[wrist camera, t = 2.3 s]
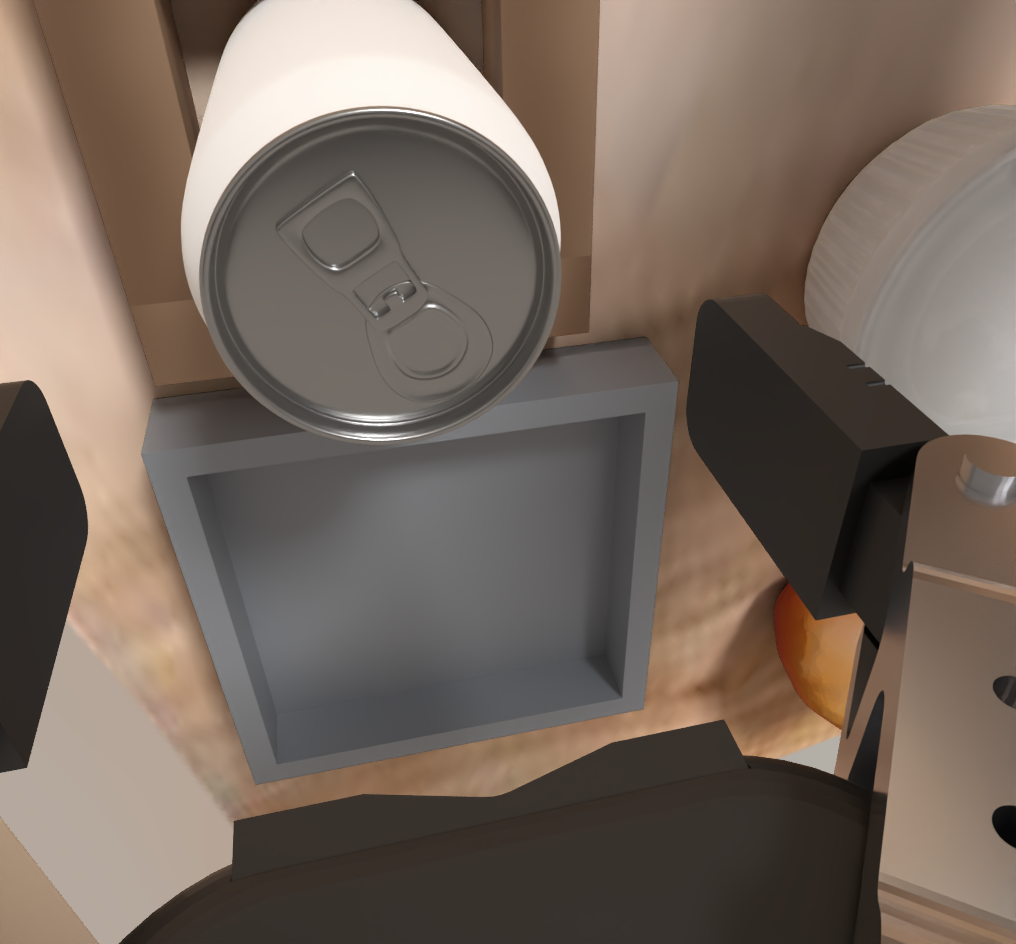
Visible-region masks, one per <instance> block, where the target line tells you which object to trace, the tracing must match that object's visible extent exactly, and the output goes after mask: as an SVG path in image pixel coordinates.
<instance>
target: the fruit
mask: <svg viewBox="0 0 1016 944" xmlns="http://www.w3.org/2000/svg"><path fill="white" fill-rule="evenodd" d="M863 624H864V623H863V621H862V620H861V619H860V617H859V616H858V615H857V613H853V614H848V615H843V616H837V617H832V618H827V619H822V620H815V619H814V618H813V616H812V615H811V613H810V612H809V610H808V609H807V608H806V606H805V605H804V603H803V602H802V601H801V599H800V598H799V596H798V595H797V593H796V592H795V591H794V589H793V588H792V586H791V585H790V584H789V583H788V584H787V585H786V587H785V588H784V589H783V591H782V592H781V593H780V595H779V597H778V599H777V601H776V603H775V606H774V631H775V639H776V645H777V650H778V654H779V657H780V659H781V662H782V664H783V666H784V668H785V670H786V672H787V674H788V676H789V678H790V680H791V682H792V684H793V686H794V689H795V691H796V692H797V694H798V695H799V696H800V698H801V699H802V700H803V701H804V703H805V704H806V705H807V706H808V707H809V708H811V709H812V710H813V711H814V712H816V713H817V714H818V715H820V716H821V717H823V718H824V719H826V720H827V721H829V722H830V723H831V724H833V725H835V726H836V727H838V728H839V729H841V730H842V726H843V721H844V715H845V709H846V703H847V698H848V692H849V686H850V680H851V675H852V669H853V663H854V657H855V652H856V646H857V643H858V639H859V636H860V633H861V630H862V627H863Z"/></svg>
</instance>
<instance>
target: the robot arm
mask: <svg viewBox="0 0 1016 944" xmlns="http://www.w3.org/2000/svg"><path fill="white" fill-rule="evenodd" d="M686 415H687V425H688V431H689V435H690V438H691V441H692V444H693V446H694V448H695V450H696V452H697V453H698V455H699V456H700V457H701V459H702V460H703V462H704V463H705V465H706V466H707V467H708V469H709V470H710V472H711V473H712V474H713V476H714V477H715V479H716V480H717V482H718V483H719V484H720V486H721V487H722V489H723V490H724V491H725V493H726V494H727V496H728V497H729V499H730V500H731V501H732V503H733V504H734V506H735V507H736V508H737V510H738V511H739V513H740V514H741V516H742V517H743V518H744V520H745V521H746V523H747V524H748V525H749V527H750V528H751V530H752V531H753V533H754V534H755V535H756V537H757V538H758V540H759V541H760V542H761V544H762V545H763V547H764V548H765V550H766V551H767V552H768V554H769V555H770V557H771V558H772V559H773V561H774V562H775V564H776V565H777V567H778V568H779V569H780V571H781V572H782V574H783V575H784V576H785V578H786V579H787V581H788V582H789V584H790V585H791V586H792V588H793V589H794V591H795V592H796V593H797V595H798V596H799V598H800V599H801V601H802V602H803V603H804V605H805V606H806V608H807V609H808V610H809V612H810V613H811V615H812V616H813V618H814V619H815V620H822V619H827V618H832V617H837V616H843V615H848V614H853V613H857V615H858V616H859V617H860V619H861V620H862V621H863V623H864V624H863V627H862V630H861V633H860V636H859V639H858V643H857V646H856V652H855V657H854V663H853V669H852V675H851V680H850V686H849V692H848V698H847V703H846V709H845V715H844V721H843V726H842V732H841V738H840V744H839V750H838V755H837V761H836V766H835V770H834V775H833V774H830V773H827V772H824V771H821V770H819V769H816V768H813V767H809V766H805V765H801V764H797V763H793V762H788V761H785V760H779V759H772V758H765V757H758V756H743V755H742V753H741V751H740V749H739V748H738V746H737V744H736V742H735V740H734V738H733V736H732V734H731V732H730V730H729V728H728V726H727V725H726V723H725V721H724V720H719V721H715V722H710V723H705V724H700V725H695V726H690V727H686V728H681V729H676V730H671V731H666V732H661V733H657V734H652V735H647V736H642V737H637V738H632V739H628V740H623V741H618V742H613V743H610V744H608V745H606V746H604V747H602V748H600V749H598V750H596V751H594V752H592V753H590V754H588V755H585V756H583V757H581V758H579V759H577V760H575V761H573V762H571V763H569V764H567V765H565V766H563V767H560V768H558V769H556V770H554V771H552V772H550V773H548V774H546V775H544V776H542V777H540V778H538V779H535V780H533V781H531V782H529V783H527V784H525V785H523V786H521V787H519V788H517V789H515V790H513V791H511V792H508V793H505V794H503V795H499V796H494V797H453V796H412V795H372V794H362V795H357V796H353V797H348V798H343V799H338V800H333V801H328V802H324V803H319V804H314V805H309V806H304V807H299V808H295V809H290V810H285V811H280V812H275V813H270V814H266V815H261V816H256V817H251V818H246V819H241V820H237V821H234V834H233V860H232V864H231V865H229V866H227V867H225V868H222V869H220V870H218V871H216V872H214V873H212V874H210V875H209V876H207V877H205V878H204V879H202V880H200V881H199V882H197V883H195V884H194V885H192V886H190V887H189V888H187V889H185V890H184V891H182V892H181V893H179V894H178V895H176V896H175V897H174V898H172V899H171V900H170V901H168V902H167V903H166V904H164V905H163V906H162V907H161V908H159V909H157V910H156V911H155V912H153V913H152V914H151V915H150V916H149V917H148V918H146V919H145V920H144V921H143V922H142V923H141V924H140V925H139V926H137V927H136V928H135V929H134V930H133V931H132V932H131V933H130V934H128V935H127V936H126V937H125V938H124V939H123V940H122V941H121V942H120V943H119V944H1016V443H1012V442H1009V441H1006V440H1002V439H998V438H994V437H988V436H982V435H970V434H961V435H948V434H947V433H946V432H945V431H944V430H942V429H941V428H940V427H939V426H938V425H937V424H936V423H934V422H933V421H932V420H931V419H930V418H929V417H927V416H926V415H925V414H924V413H923V412H922V411H921V410H919V409H918V408H917V407H916V406H915V405H914V404H912V403H911V402H910V401H909V400H908V399H907V398H906V397H904V396H903V395H902V394H901V393H900V392H899V391H897V390H896V389H895V388H894V387H893V386H892V385H890V384H889V385H886V384H885V379H884V378H882V377H881V376H880V375H879V374H878V373H877V372H875V371H874V370H873V369H872V368H871V367H865V362H864V361H863V360H862V359H860V358H859V357H858V356H857V355H856V354H855V353H853V352H852V351H851V350H850V349H849V348H848V347H847V346H845V345H844V344H843V343H842V342H841V341H838V340H836V339H834V338H832V337H830V336H827V335H825V334H823V333H821V332H819V331H816V330H814V329H812V328H810V327H808V326H806V325H804V326H801V325H800V324H799V323H798V322H797V321H796V320H795V319H794V318H793V317H791V316H790V315H789V314H788V313H787V312H786V311H785V310H784V309H783V308H781V307H780V306H779V305H778V304H777V303H776V302H775V301H774V300H772V299H771V298H770V297H769V296H768V295H766V294H763V293H760V294H751V295H743V296H735V297H726V298H718V299H710V300H707V301H705V302H704V303H703V304H702V306H701V308H700V310H699V313H698V316H697V322H696V331H695V339H694V347H693V356H692V364H691V372H690V381H689V389H688V397H687V407H686ZM87 535H88V519H87V510H86V505H85V500H84V496H83V493H82V490H81V487H80V485H79V482H78V480H77V477H76V474H75V472H74V469H73V467H72V464H71V462H70V459H69V457H68V454H67V452H66V449H65V447H64V444H63V442H62V439H61V437H60V434H59V432H58V429H57V427H56V424H55V422H54V419H53V417H52V414H51V412H50V409H49V407H48V404H47V402H46V399H45V397H44V395H43V393H42V392H41V390H40V389H39V387H38V386H37V385H36V384H35V383H34V382H32V381H30V380H27V381H18V382H10V383H2V384H0V773H1V772H7V771H12V770H18V769H22V768H27V765H28V762H29V758H30V754H31V750H32V746H33V743H34V739H35V735H36V731H37V727H38V723H39V719H40V716H41V712H42V708H43V705H44V701H45V697H46V693H47V690H48V686H49V682H50V678H51V675H52V671H53V667H54V663H55V659H56V656H57V652H58V648H59V644H60V641H61V637H62V633H63V629H64V626H65V622H66V618H67V614H68V610H69V607H70V603H71V599H72V595H73V591H74V588H75V584H76V580H77V576H78V573H79V569H80V565H81V561H82V557H83V554H84V550H85V546H86V542H87ZM0 944H99V943H98V942H97V940H96V939H95V938H94V937H93V935H92V934H91V933H90V931H89V930H88V929H87V928H86V926H85V925H84V924H83V922H82V921H81V920H80V919H79V917H78V916H77V915H76V913H75V912H74V911H73V910H72V908H71V907H70V906H69V904H68V903H67V902H66V901H65V899H64V898H63V897H62V895H61V894H60V893H59V892H58V891H57V889H56V888H55V886H54V885H53V884H52V883H51V881H50V880H49V879H48V877H47V876H46V875H45V874H44V872H43V871H42V870H41V868H40V867H39V866H38V865H37V863H36V862H35V861H34V859H33V858H32V857H31V856H30V854H29V853H28V852H27V850H26V849H25V848H24V847H23V845H22V844H21V843H20V841H19V840H18V839H17V837H16V836H15V835H14V834H13V832H12V831H11V830H10V828H9V827H8V826H7V825H6V823H5V822H4V821H3V819H1V817H0Z"/></svg>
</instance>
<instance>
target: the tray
mask: <svg viewBox="0 0 1016 944" xmlns="http://www.w3.org/2000/svg"><path fill="white" fill-rule="evenodd" d="M678 384H679V381H678V379H677V378H676V376H675V375H674V374H673V372H672V371H671V370H670V368H669V367H668V366H667V364H666V363H665V361H664V360H663V359H662V357H661V356H660V355H659V353H658V352H657V351H656V349H655V348H654V346H653V345H652V344H651V342H650V341H649V340H648V338H647V337H641V338H633V339H625V340H617V341H609V342H602V343H594V344H586V345H578V346H570V347H562V348H554V349H546V350H542V352H541V354H540V356H539V357H538V359H537V361H536V362H535V364H534V365H533V367H532V368H531V369H530V371H529V372H528V374H527V375H526V376H525V377H524V379H523V380H522V381H521V382H520V383H519V384H518V385H517V387H516V388H515V389H514V390H513V391H512V392H511V393H510V394H509V395H507V396H506V397H505V398H504V399H503V400H502V401H501V402H499V403H498V404H497V405H496V406H494V407H493V408H492V409H490V410H489V411H488V412H486V413H485V414H483V415H481V416H480V417H478V418H477V419H475V420H473V421H471V422H469V423H468V424H466V425H464V426H462V427H459V428H457V429H455V430H452V431H450V432H447V433H445V434H442V435H439V436H436V437H432V438H429V439H425V440H420V441H415V442H410V443H403V444H391V445H367V444H356V443H349V442H343V441H338V440H334V439H330V438H326V437H323V436H320V435H317V434H314V433H311V432H309V431H306V430H304V429H301V428H299V427H297V426H295V425H293V424H291V423H289V422H287V421H286V420H284V419H282V418H281V417H279V416H277V415H276V414H274V413H273V412H271V411H270V410H269V409H267V408H266V407H265V406H263V405H262V404H261V403H260V402H258V401H257V400H256V399H255V398H254V397H253V396H252V395H251V394H250V393H248V392H247V390H246V389H245V388H238V389H230V390H223V391H215V392H207V393H199V394H191V395H183V396H175V397H167V398H159V399H154V400H153V404H152V408H151V413H150V417H149V421H148V426H147V430H146V434H145V439H144V443H143V447H142V452H141V455H142V458H143V461H144V464H145V467H146V470H147V473H148V476H149V478H150V481H151V484H152V487H153V490H154V493H155V496H156V499H157V501H158V504H159V507H160V510H161V513H162V516H163V519H164V522H165V525H166V527H167V530H168V533H169V536H170V539H171V542H172V545H173V548H174V551H175V553H176V556H177V559H178V562H179V565H180V568H181V571H182V574H183V577H184V579H185V582H186V585H187V588H188V591H189V594H190V597H191V600H192V602H193V605H194V608H195V611H196V614H197V617H198V620H199V623H200V626H201V628H202V631H203V634H204V637H205V640H206V643H207V646H208V649H209V652H210V654H211V657H212V660H213V663H214V666H215V669H216V672H217V675H218V677H219V680H220V683H221V686H222V689H223V692H224V695H225V698H226V701H227V703H228V706H229V709H230V712H231V715H232V718H233V721H234V724H235V727H236V729H237V732H238V735H239V738H240V741H241V744H242V747H243V750H244V753H245V755H246V758H247V761H248V764H249V767H250V770H251V773H252V776H253V778H254V781H255V784H256V785H257V784H263V783H268V782H273V781H278V780H283V779H288V778H293V777H298V776H304V775H309V774H314V773H319V772H324V771H329V770H334V769H339V768H345V767H350V766H355V765H360V764H365V763H370V762H375V761H380V760H386V759H391V758H396V757H401V756H406V755H411V754H416V753H422V752H427V751H432V750H437V749H442V748H447V747H452V746H457V745H463V744H468V743H473V742H478V741H483V740H488V739H493V738H498V737H504V736H509V735H514V734H519V733H524V732H529V731H534V730H539V729H545V728H550V727H555V726H560V725H565V724H570V723H575V722H580V721H586V720H591V719H596V718H601V717H606V716H611V715H616V714H621V713H627V712H632V711H637V710H642V709H644V701H645V692H646V683H647V673H648V664H649V655H650V645H651V636H652V627H653V617H654V608H655V599H656V589H657V580H658V570H659V561H660V552H661V542H662V533H663V524H664V514H665V505H666V496H667V486H668V477H669V468H670V458H671V449H672V440H673V430H674V421H675V412H676V402H677V393H678Z"/></svg>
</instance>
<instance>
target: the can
mask: <svg viewBox="0 0 1016 944" xmlns="http://www.w3.org/2000/svg"><path fill="white" fill-rule="evenodd" d="M181 243H182V255H183V262H184V268H185V273H186V277H187V281H188V285H189V288H190V291H191V294H192V296H193V299H194V302H195V304H196V306H197V308H198V311H199V313H200V315H201V317H202V318H203V320H204V322H205V324H206V325H207V327H208V330H209V333H210V336H211V338H212V340H213V343H214V345H215V347H216V349H217V351H218V353H219V354H220V356H221V358H222V360H223V361H224V363H225V364H226V366H227V367H228V369H229V370H230V372H231V373H232V374H233V376H234V377H235V378H236V379H237V381H238V382H239V383H240V384H241V385H242V386H243V387H244V388H245V389H246V390H247V392H248V393H250V394H251V395H252V396H253V397H254V398H255V399H256V400H257V401H258V402H260V403H261V404H262V405H263V406H265V407H266V408H267V409H269V410H270V411H271V412H273V413H274V414H276V415H277V416H279V417H281V418H282V419H284V420H286V421H287V422H289V423H291V424H293V425H295V426H297V427H299V428H301V429H304V430H306V431H309V432H311V433H314V434H317V435H320V436H323V437H326V438H330V439H334V440H338V441H343V442H349V443H356V444H367V445H391V444H403V443H410V442H415V441H420V440H425V439H429V438H432V437H436V436H439V435H442V434H445V433H447V432H450V431H452V430H455V429H457V428H459V427H462V426H464V425H466V424H468V423H469V422H471V421H473V420H475V419H477V418H478V417H480V416H481V415H483V414H485V413H486V412H488V411H489V410H490V409H492V408H493V407H494V406H496V405H497V404H498V403H499V402H501V401H502V400H503V399H504V398H505V397H506V396H507V395H509V394H510V393H511V392H512V391H513V390H514V389H515V388H516V387H517V385H518V384H519V383H520V382H521V381H522V380H523V379H524V377H525V376H526V375H527V374H528V372H529V371H530V369H531V368H532V367H533V365H534V364H535V362H536V361H537V359H538V357H539V356H540V354H541V352H542V350H543V348H544V346H545V344H546V342H547V340H548V338H549V335H550V333H551V330H552V328H553V325H554V321H555V318H556V314H557V310H558V306H559V300H560V293H561V280H562V270H561V256H560V246H561V231H560V218H559V211H558V205H557V200H556V196H555V192H554V189H553V185H552V182H551V180H550V177H549V174H548V172H547V169H546V167H545V164H544V162H543V160H542V158H541V156H540V154H539V152H538V150H537V148H536V146H535V144H534V143H533V141H532V139H531V138H530V136H529V135H528V133H527V132H526V130H525V129H524V127H523V126H522V125H521V123H520V122H519V120H518V119H517V118H516V116H515V115H514V114H513V112H512V111H511V110H510V109H509V107H508V106H507V105H506V104H505V102H504V101H503V100H502V99H501V97H500V96H499V95H498V94H497V92H496V91H495V90H494V89H493V88H492V86H491V85H490V84H489V83H488V82H487V80H486V79H485V78H484V77H483V76H482V74H481V73H480V72H479V71H478V70H477V69H476V67H475V66H474V65H473V64H472V63H471V61H470V60H469V59H468V58H467V57H466V55H465V54H464V53H463V52H462V51H461V50H460V48H459V47H458V46H457V45H456V44H455V43H454V41H453V40H452V39H451V38H450V37H449V36H448V35H447V33H446V32H445V31H444V30H443V29H442V28H441V27H440V25H439V24H438V23H437V22H436V21H435V20H434V19H433V18H432V17H431V16H430V15H429V14H428V13H427V12H426V11H425V10H424V9H423V8H422V7H421V6H420V5H419V4H417V3H416V2H415V1H414V0H258V1H257V2H256V3H255V4H254V5H253V6H252V7H251V8H250V9H249V10H248V11H247V12H246V13H245V15H244V16H243V17H242V18H241V20H240V21H239V23H238V24H237V26H236V27H235V29H234V31H233V32H232V34H231V36H230V38H229V40H228V42H227V45H226V47H225V49H224V52H223V55H222V58H221V61H220V64H219V66H218V70H217V73H216V76H215V80H214V83H213V86H212V90H211V93H210V97H209V100H208V104H207V107H206V111H205V114H204V118H203V121H202V125H201V129H200V132H199V136H198V139H197V143H196V147H195V150H194V154H193V158H192V162H191V166H190V170H189V174H188V178H187V183H186V188H185V193H184V199H183V205H182V215H181Z"/></svg>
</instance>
